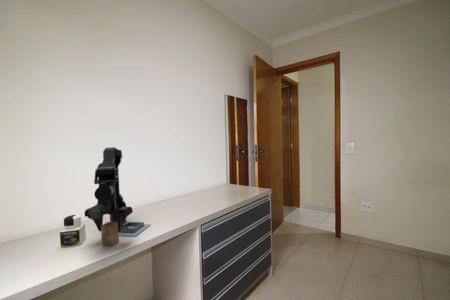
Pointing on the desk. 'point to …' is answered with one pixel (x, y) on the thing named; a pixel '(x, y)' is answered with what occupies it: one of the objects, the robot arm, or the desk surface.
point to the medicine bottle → (72, 231)
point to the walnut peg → (109, 234)
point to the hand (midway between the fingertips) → (110, 231)
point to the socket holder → (133, 229)
